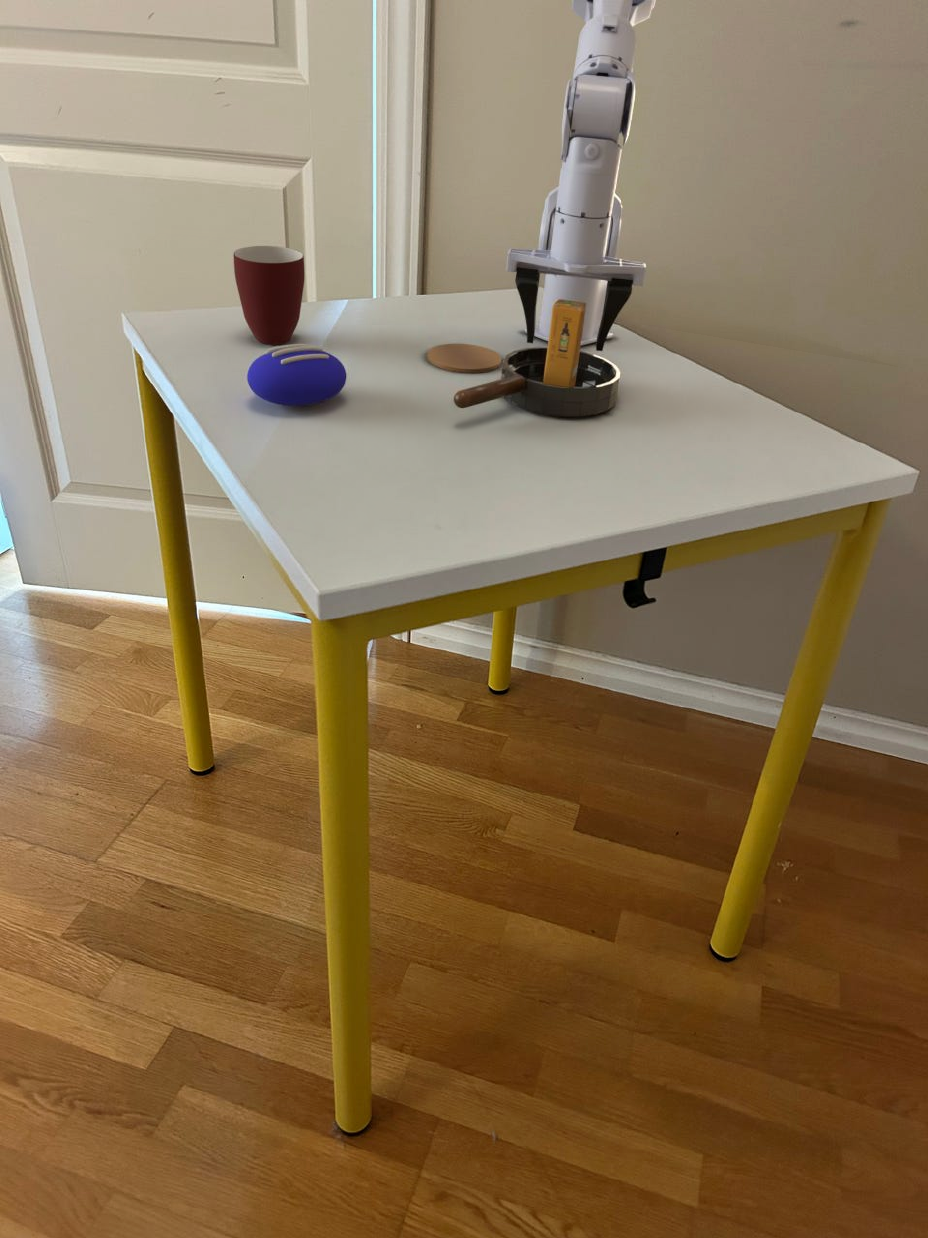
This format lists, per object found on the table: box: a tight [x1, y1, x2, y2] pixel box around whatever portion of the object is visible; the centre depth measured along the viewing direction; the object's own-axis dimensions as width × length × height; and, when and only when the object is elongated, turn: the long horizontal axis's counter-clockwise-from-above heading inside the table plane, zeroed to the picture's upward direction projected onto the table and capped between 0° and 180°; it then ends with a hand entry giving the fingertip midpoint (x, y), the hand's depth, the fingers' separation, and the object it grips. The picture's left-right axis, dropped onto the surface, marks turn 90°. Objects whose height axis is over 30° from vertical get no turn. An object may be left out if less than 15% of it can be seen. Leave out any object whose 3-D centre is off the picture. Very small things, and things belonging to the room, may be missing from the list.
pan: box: [500, 346, 621, 418], centre depth 99 cm, size 13×13×4 cm
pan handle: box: [453, 375, 526, 409], centre depth 92 cm, size 10×2×2 cm, turn 133°
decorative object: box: [246, 343, 347, 407], centre depth 92 cm, size 10×6×10 cm
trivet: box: [427, 343, 502, 374], centre depth 107 cm, size 9×9×1 cm
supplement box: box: [543, 299, 586, 387], centre depth 97 cm, size 3×3×10 cm
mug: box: [232, 245, 306, 346], centre depth 106 cm, size 11×8×10 cm
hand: (564, 344), depth 98 cm, fingers open, 7 cm apart
